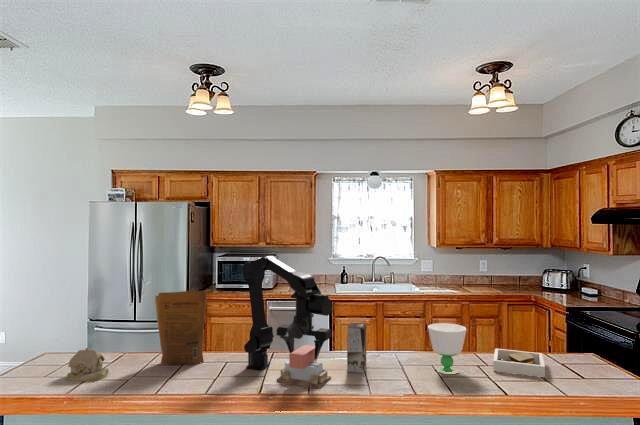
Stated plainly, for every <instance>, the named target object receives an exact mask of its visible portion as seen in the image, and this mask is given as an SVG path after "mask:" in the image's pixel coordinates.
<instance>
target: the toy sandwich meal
mask: <svg viewBox="0 0 640 425" xmlns="http://www.w3.org/2000/svg"><path fill="white" fill-rule="evenodd" d="M526 352H527V351H525V352H519V353H515V354H510V355H509V358H510V359H507V360H500V361H509V362H518V363H526V364H535V362H534V356H532V355H531V354H529V353H526ZM535 365H536V364H535Z"/></svg>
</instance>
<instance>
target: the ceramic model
mask: <svg viewBox="0 0 640 425" xmlns="http://www.w3.org/2000/svg"><path fill="white" fill-rule="evenodd" d="M105 360H106V359H105V356H104V355H103V353H101V352H99V351H97V350H96V349H91V347H85V349H80V350H77V352H76V353H75V354H74V355H73V356H72V357H71V358H70V360H69V363H68V364H67V365H68V368H70V372H68V373H67V375H66V379H67V380H68V379H69V380H68V381H70V380H72V381H71V382H93V381H92V380H94V381H98V380H102V379H104V378H106V377H107V376H108V375H109V372H110V370H109V368H104V367H103V365H104V361H105Z"/></svg>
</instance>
